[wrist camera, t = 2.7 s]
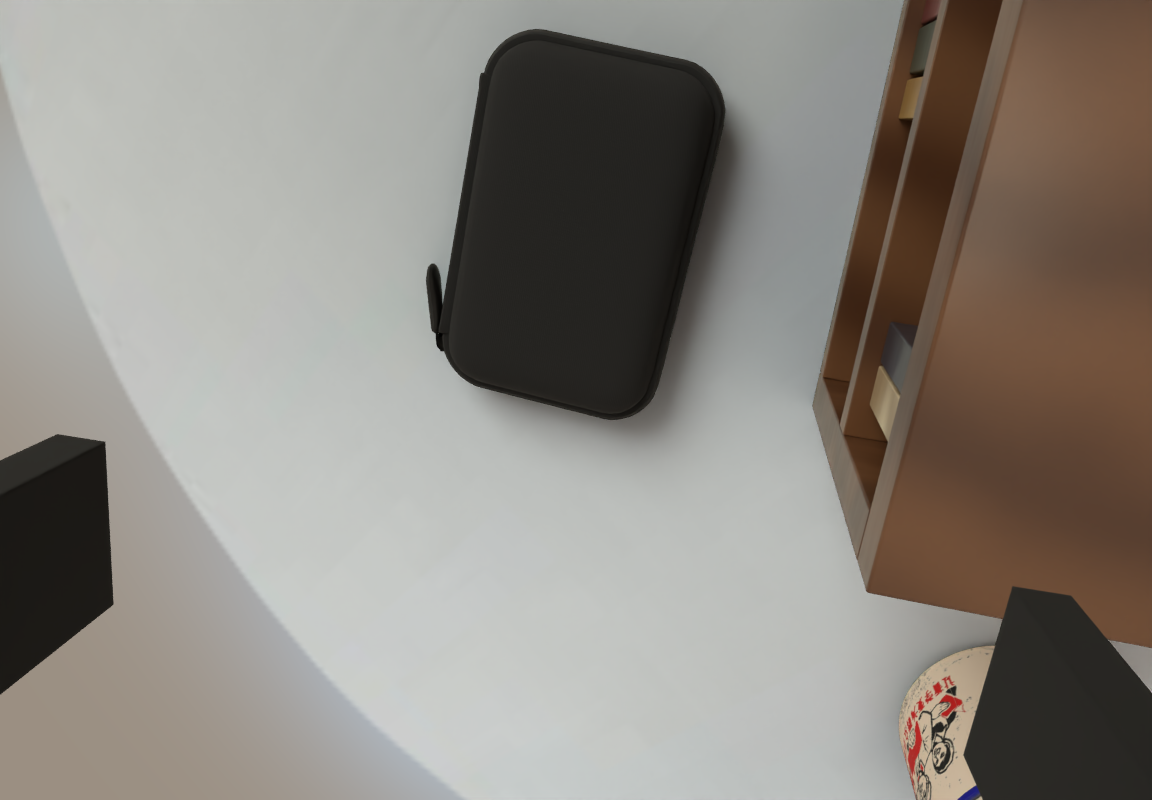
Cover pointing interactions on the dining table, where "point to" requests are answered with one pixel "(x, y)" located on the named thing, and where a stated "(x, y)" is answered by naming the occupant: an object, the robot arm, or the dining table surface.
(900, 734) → the teacup with lid
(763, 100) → the dining table surface
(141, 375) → the dining table surface
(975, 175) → the shelf
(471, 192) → the carrying case
